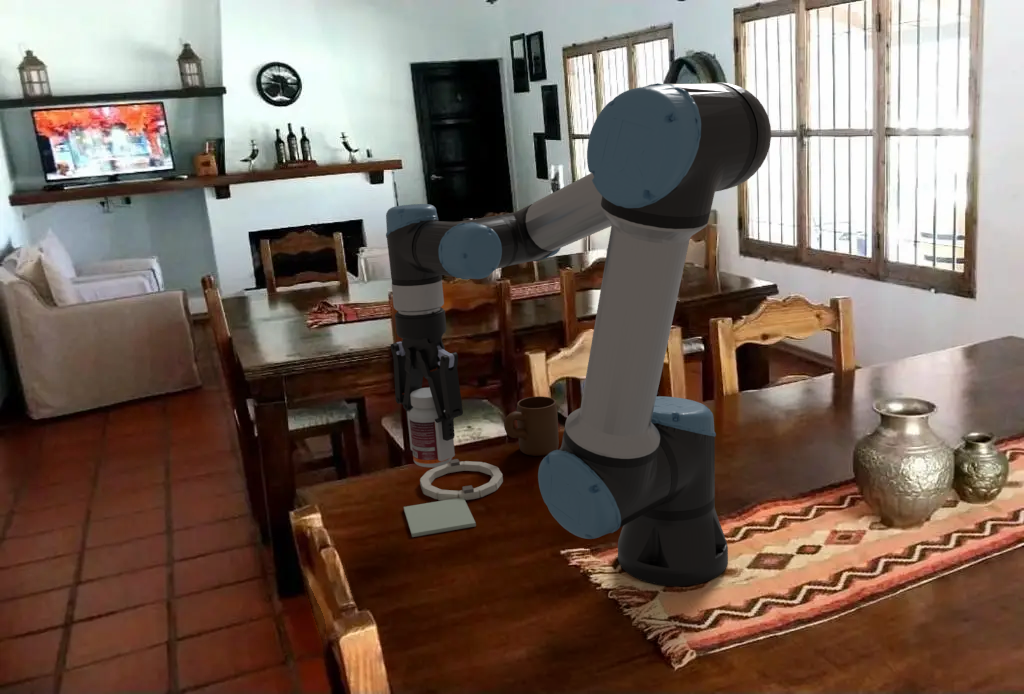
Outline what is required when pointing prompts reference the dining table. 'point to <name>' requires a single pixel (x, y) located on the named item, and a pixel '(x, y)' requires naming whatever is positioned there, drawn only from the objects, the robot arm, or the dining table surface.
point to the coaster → (438, 517)
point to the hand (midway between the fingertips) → (432, 452)
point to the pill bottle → (424, 429)
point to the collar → (467, 491)
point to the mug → (535, 425)
